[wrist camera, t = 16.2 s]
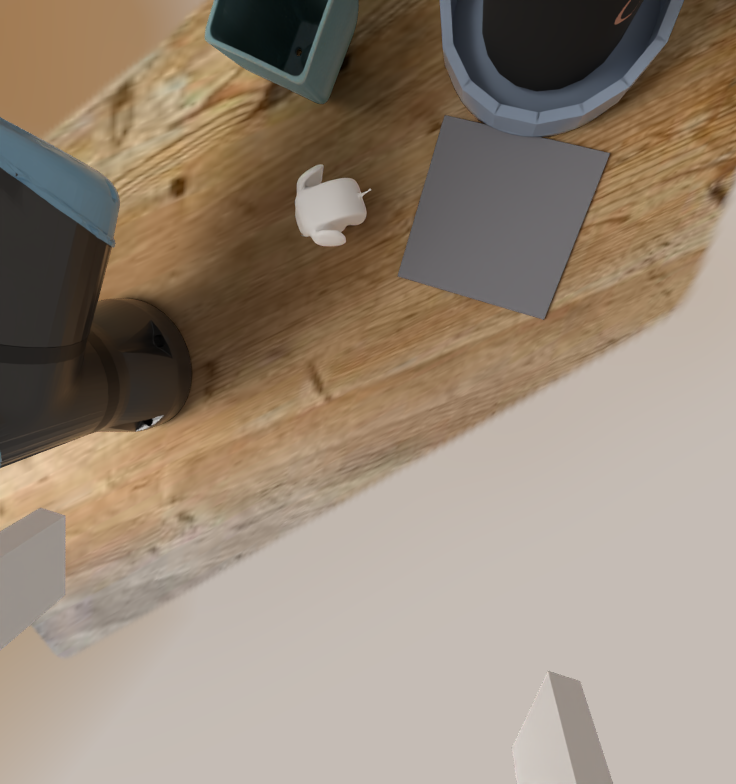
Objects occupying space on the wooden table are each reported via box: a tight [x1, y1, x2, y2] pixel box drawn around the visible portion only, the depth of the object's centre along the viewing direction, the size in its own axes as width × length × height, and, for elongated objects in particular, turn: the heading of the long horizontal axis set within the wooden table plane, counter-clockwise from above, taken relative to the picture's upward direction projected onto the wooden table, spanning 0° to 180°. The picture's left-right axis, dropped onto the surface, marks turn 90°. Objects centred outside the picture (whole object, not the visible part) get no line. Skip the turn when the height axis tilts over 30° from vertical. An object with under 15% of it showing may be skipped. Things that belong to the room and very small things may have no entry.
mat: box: [398, 115, 610, 320], centre depth 38 cm, size 14×14×1 cm
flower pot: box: [205, 0, 359, 104], centre depth 35 cm, size 9×9×9 cm
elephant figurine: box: [295, 164, 371, 246], centre depth 39 cm, size 7×8×6 cm
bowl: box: [440, 0, 684, 137], centre depth 33 cm, size 17×17×4 cm
